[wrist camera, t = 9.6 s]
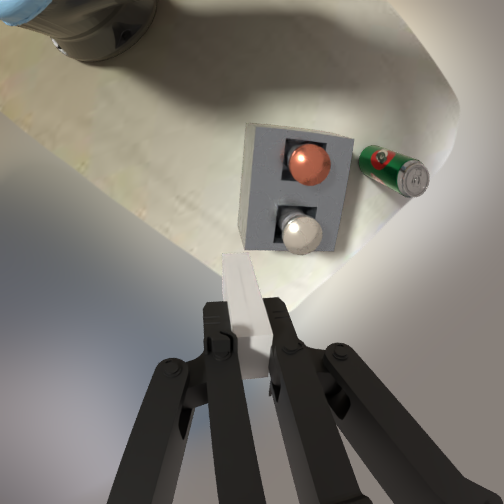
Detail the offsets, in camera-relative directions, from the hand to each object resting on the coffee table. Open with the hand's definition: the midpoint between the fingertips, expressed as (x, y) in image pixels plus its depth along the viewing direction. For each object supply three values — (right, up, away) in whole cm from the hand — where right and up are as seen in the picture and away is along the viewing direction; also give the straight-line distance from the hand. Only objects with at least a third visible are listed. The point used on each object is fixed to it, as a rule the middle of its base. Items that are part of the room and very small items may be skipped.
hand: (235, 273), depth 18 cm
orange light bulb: (+6, +14, +21) cm, 26 cm away
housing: (+5, +12, +25) cm, 28 cm away
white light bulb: (+6, +7, +24) cm, 25 cm away
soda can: (+19, +15, +26) cm, 36 cm away
